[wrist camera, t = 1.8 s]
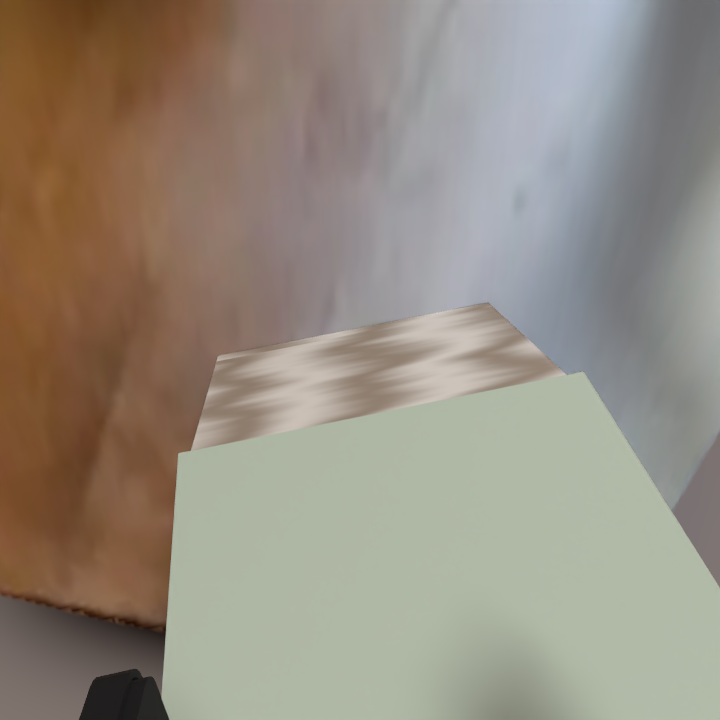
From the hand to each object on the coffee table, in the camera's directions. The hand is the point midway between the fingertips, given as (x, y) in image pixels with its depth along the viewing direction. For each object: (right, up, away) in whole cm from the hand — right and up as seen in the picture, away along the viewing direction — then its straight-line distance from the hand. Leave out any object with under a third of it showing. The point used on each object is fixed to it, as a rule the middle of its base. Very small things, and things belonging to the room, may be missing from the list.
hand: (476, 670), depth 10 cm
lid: (+1, -4, +12) cm, 12 cm away
